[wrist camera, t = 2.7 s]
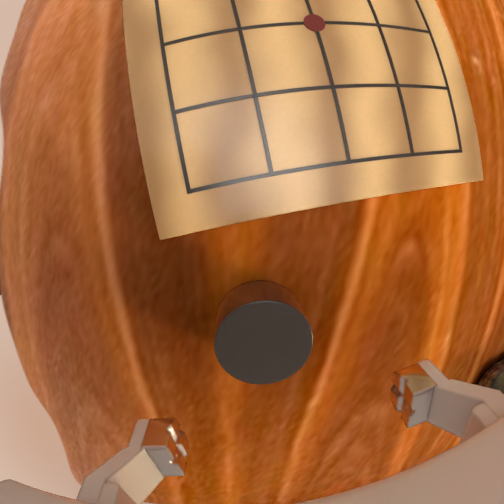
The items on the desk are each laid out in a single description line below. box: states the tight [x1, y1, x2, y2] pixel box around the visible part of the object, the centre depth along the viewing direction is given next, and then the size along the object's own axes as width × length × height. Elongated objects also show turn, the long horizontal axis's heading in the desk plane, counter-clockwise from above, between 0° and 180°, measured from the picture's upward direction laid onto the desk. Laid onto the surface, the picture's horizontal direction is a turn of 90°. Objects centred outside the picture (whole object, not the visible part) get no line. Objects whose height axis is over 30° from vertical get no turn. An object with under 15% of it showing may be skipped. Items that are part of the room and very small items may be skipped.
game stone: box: [214, 280, 313, 384], centre depth 16 cm, size 5×5×3 cm
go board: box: [122, 0, 483, 240], centre depth 13 cm, size 20×20×2 cm
